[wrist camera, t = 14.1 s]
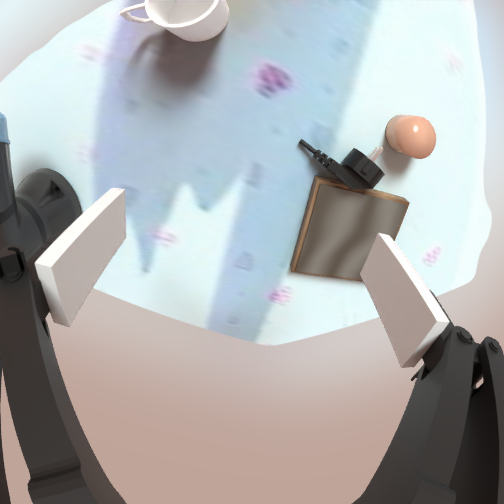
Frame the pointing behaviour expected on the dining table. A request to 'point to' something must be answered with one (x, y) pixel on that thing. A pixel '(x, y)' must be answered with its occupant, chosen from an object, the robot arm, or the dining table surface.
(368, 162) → the power plug
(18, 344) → the robot arm
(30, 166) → the dining table surface
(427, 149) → the peach rounded cylinder
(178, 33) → the cup
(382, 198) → the stand
